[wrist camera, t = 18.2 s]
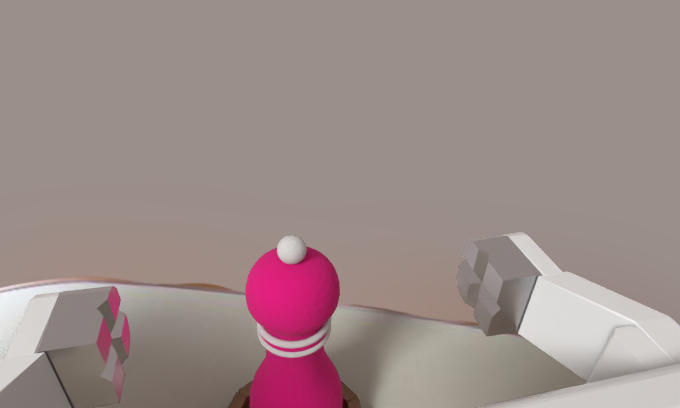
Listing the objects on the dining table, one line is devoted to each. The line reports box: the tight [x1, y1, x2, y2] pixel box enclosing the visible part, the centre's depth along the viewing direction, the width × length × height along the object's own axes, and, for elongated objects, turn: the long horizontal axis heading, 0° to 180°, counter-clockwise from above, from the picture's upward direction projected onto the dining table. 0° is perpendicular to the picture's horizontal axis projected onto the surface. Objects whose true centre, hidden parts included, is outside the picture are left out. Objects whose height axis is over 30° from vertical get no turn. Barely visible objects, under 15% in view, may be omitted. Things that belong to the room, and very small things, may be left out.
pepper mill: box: [246, 235, 343, 408], centre depth 33 cm, size 7×7×20 cm
